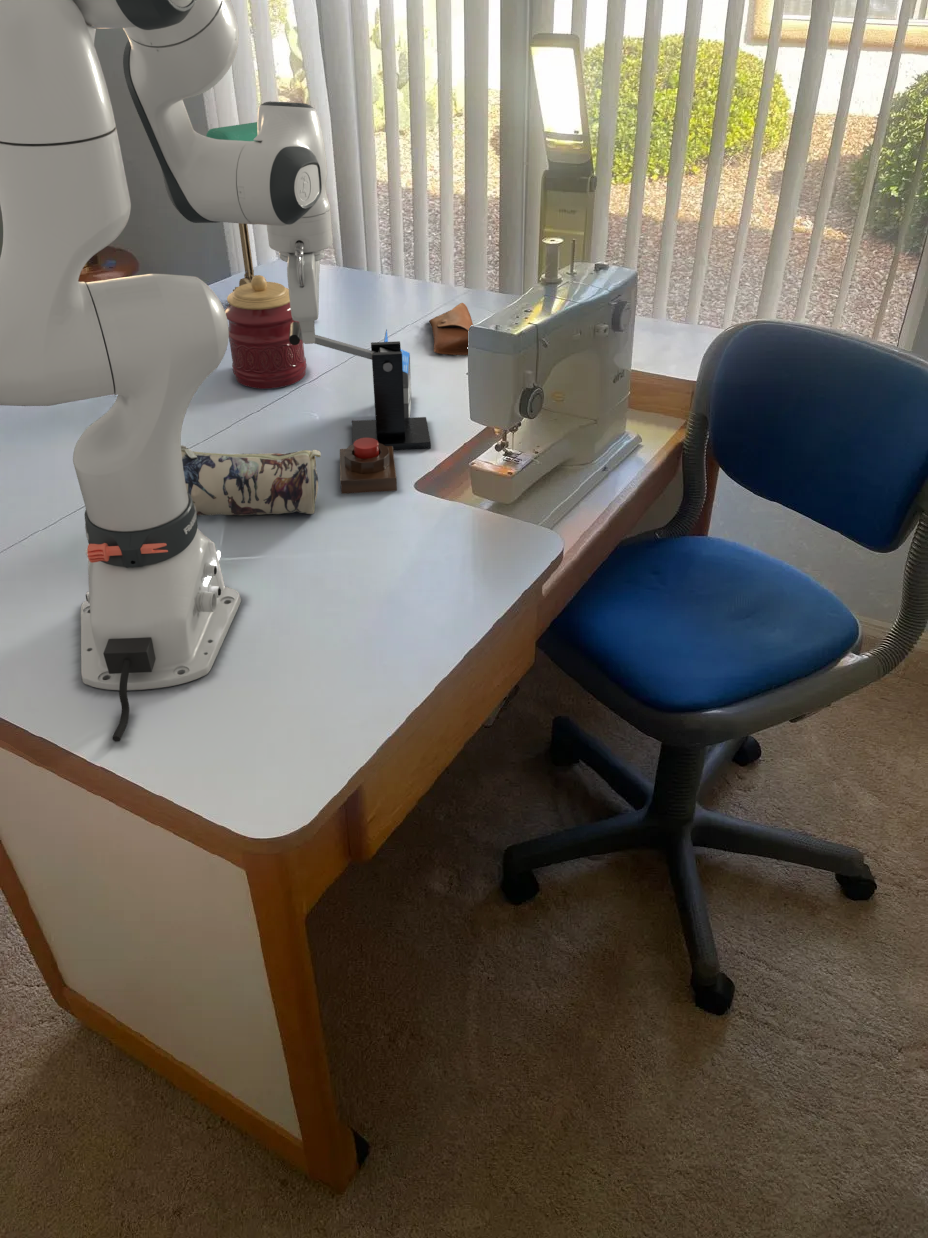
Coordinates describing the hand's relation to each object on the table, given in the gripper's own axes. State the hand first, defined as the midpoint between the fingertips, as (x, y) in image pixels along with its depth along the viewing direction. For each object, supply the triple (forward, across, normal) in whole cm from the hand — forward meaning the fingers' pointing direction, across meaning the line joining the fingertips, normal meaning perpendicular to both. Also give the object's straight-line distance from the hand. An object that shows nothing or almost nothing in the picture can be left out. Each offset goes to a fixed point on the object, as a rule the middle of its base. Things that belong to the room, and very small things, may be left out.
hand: (309, 329), depth 142 cm
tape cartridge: (+18, +10, -13) cm, 25 cm away
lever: (+4, 0, -4) cm, 6 cm away
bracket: (+18, 0, -11) cm, 21 cm away
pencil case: (+18, -20, +10) cm, 29 cm away
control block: (+18, -12, -7) cm, 23 cm away
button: (+14, -12, -7) cm, 20 cm away
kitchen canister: (+18, +27, +9) cm, 34 cm away
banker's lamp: (+18, +58, +10) cm, 62 cm away
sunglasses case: (+18, +41, -25) cm, 52 cm away
